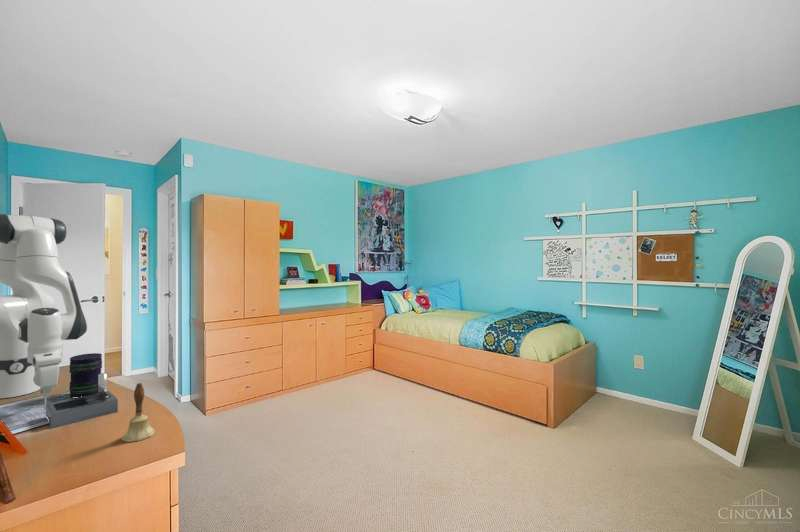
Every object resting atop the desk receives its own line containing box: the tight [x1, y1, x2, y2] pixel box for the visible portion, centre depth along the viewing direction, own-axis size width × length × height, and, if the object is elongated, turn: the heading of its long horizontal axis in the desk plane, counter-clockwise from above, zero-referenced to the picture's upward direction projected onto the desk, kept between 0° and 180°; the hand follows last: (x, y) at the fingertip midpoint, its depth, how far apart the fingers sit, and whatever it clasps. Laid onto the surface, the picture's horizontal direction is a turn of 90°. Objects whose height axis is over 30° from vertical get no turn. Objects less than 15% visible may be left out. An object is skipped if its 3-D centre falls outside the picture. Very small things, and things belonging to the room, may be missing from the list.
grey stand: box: [45, 372, 119, 429], centre depth 126 cm, size 17×12×13 cm
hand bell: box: [121, 382, 156, 443], centre depth 112 cm, size 8×8×16 cm
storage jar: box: [69, 352, 103, 398], centre depth 145 cm, size 10×10×15 cm
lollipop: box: [33, 373, 47, 411], centre depth 127 cm, size 6×6×15 cm
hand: (45, 394), depth 127 cm, fingers closed on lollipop, 5 cm apart
